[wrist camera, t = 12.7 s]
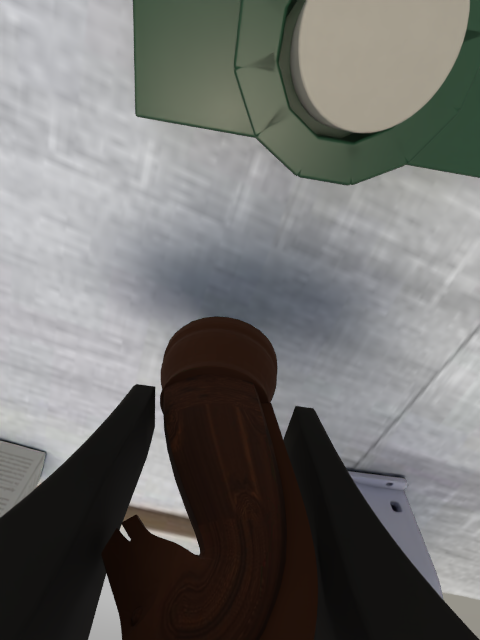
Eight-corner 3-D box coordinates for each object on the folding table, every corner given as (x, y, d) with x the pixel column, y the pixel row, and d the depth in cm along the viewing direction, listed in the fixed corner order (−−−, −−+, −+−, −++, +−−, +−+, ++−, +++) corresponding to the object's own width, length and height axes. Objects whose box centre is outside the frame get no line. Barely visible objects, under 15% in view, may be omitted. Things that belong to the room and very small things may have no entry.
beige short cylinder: (453, -29, 8) (509, -67, 6) (393, 139, 10) (422, 145, 8) (309, -59, 8) (324, -107, 6) (277, 118, 10) (281, 119, 8)
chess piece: (154, 318, 12) (-58, 750, 4) (287, 309, 12) (361, 777, 4) (178, 401, 15) (77, 777, 6) (289, 397, 14) (335, 796, 6)
